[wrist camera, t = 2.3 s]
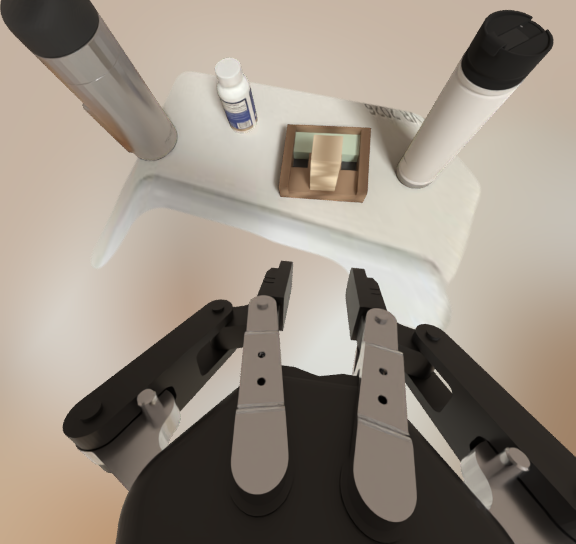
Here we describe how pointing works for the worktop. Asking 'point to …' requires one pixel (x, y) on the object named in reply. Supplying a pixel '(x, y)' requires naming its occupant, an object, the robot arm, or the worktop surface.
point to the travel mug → (474, 92)
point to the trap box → (351, 169)
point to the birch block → (325, 162)
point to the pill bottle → (236, 95)
